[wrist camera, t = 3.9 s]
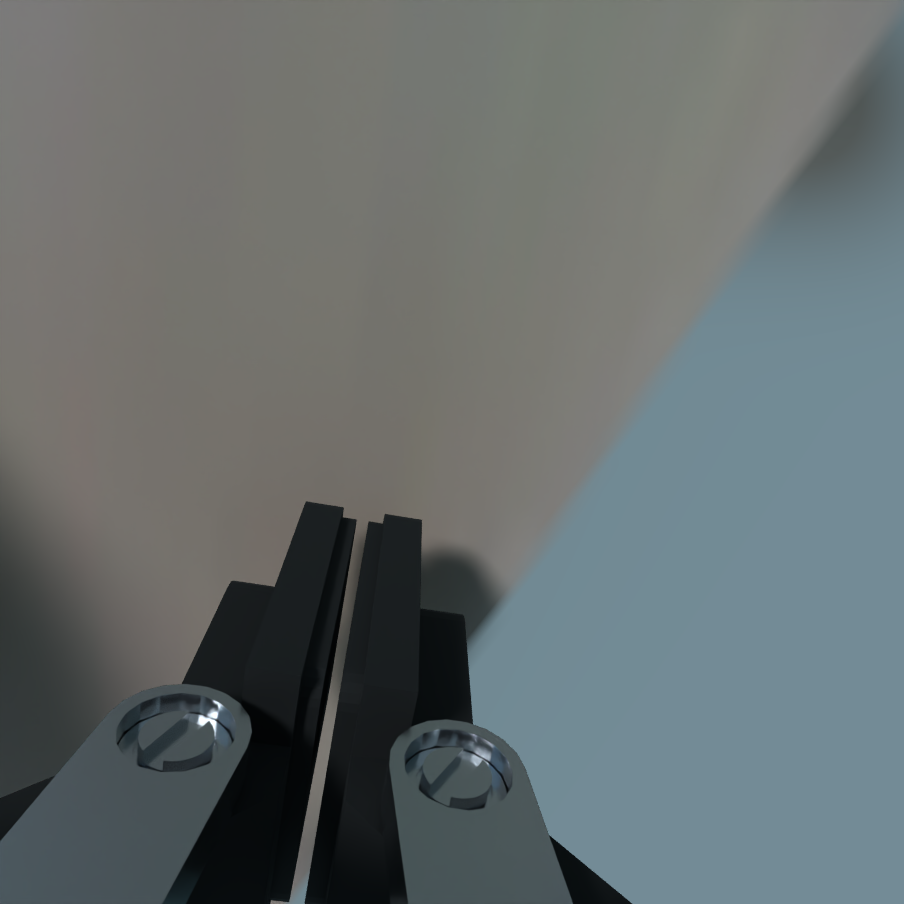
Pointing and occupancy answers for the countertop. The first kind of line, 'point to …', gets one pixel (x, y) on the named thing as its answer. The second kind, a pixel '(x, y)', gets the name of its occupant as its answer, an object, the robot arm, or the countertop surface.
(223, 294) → the countertop surface
